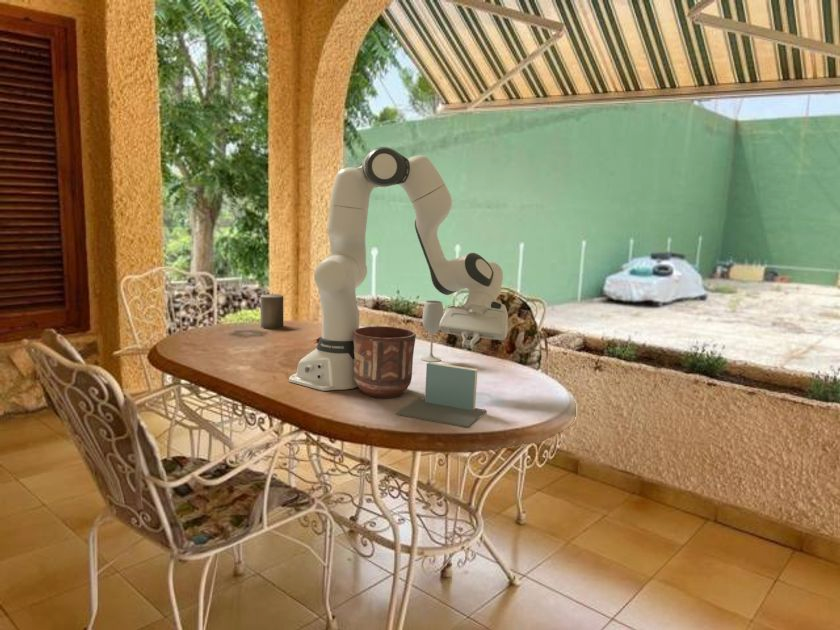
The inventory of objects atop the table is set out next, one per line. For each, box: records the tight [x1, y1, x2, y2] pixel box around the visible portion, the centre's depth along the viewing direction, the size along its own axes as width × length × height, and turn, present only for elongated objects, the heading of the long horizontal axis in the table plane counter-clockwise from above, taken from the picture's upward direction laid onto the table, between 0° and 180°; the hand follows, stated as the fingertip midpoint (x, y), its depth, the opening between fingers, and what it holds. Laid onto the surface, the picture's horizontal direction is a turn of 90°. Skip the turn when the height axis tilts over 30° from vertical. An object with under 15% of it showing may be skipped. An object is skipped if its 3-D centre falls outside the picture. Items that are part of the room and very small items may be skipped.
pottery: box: [353, 325, 417, 399], centre depth 180 cm, size 18×18×18 cm
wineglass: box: [420, 300, 444, 363], centre depth 222 cm, size 8×8×21 cm
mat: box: [395, 397, 487, 429], centre depth 166 cm, size 20×15×1 cm
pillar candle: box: [260, 292, 285, 330], centre depth 268 cm, size 10×10×15 cm
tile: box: [424, 362, 479, 410], centre depth 170 cm, size 14×2×11 cm, turn 67°
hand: (466, 346), depth 179 cm, fingers closed
